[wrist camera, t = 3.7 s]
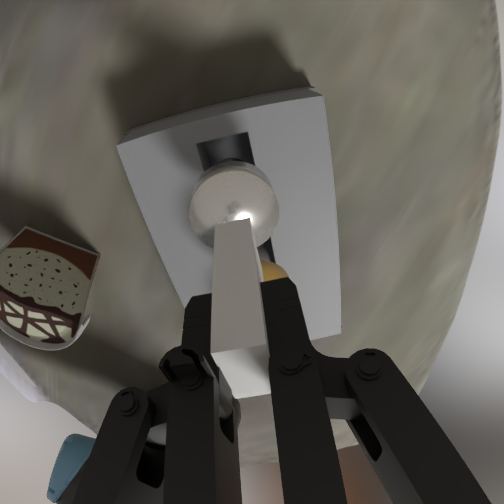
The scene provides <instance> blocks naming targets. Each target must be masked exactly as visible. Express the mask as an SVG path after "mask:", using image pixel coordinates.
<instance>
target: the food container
mask: <svg viewBox="0 0 504 504" xmlns="http://www.w3.org/2000/svg"><path fill="white" fill-rule="evenodd" d="M99 257H100V254H98V253H95V252H92V251H90V250H87V249H84V248H82V247H79V246H76V245H74V244H71V243H68V242H66V241H63V240H61V239H58V238H55V237H53V236H50V235H48V234H45V233H43V232H40V231H38V230H35V229H33V228H30V227H28V226H25V227H24V228H23V229H22V230H21V231H20V232H19V233H18V234H17V235H15V236H14V237H13V238H12V239H11V240H10V241H9V242H8V243H7V244H6V245H5V246H4V247H3V248H2V249H1V250H0V329H1V330H2V331H4V332H5V333H6V334H8V335H9V336H11V337H12V338H14V339H16V340H17V341H19V342H21V343H23V344H26V345H28V346H31V347H34V348H37V349H42V350H61V349H64V348H67V347H68V346H70V345H71V344H72V343H73V342H75V341H76V340H77V339H78V338H79V337H80V335H81V334H82V332H83V331H84V329H85V328H86V326H87V324H88V323H89V321H90V317H91V315H90V314H89V315H88V317H87V318H86V320H85V321H84V323H83V324H82V319H83V315H84V311H85V307H86V303H87V299H88V295H89V292H90V288H91V284H92V281H93V277H94V274H95V271H96V267H97V264H98V261H99Z"/></svg>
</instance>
